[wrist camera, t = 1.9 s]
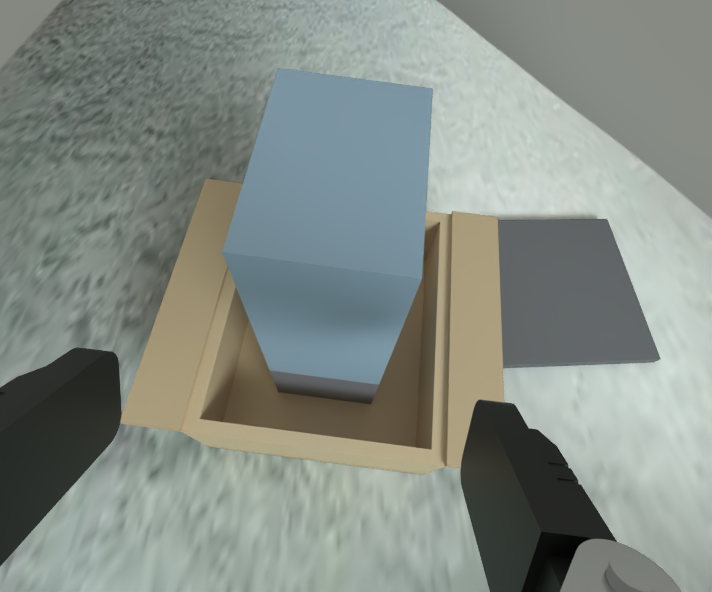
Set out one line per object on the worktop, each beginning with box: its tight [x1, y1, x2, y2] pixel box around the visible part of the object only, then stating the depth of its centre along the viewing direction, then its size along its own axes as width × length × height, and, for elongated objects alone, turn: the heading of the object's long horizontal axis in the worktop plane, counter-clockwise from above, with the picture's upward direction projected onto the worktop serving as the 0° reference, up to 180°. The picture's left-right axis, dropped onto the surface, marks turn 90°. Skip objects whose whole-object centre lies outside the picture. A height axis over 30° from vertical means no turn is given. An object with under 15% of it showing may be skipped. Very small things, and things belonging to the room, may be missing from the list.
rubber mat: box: [498, 219, 660, 368], centre depth 28 cm, size 10×10×1 cm
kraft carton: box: [120, 179, 504, 475], centre depth 23 cm, size 16×13×5 cm
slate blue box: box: [222, 68, 433, 404], centre depth 19 cm, size 5×7×14 cm
